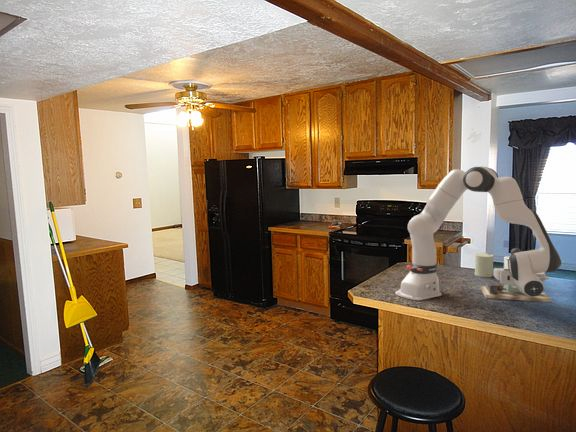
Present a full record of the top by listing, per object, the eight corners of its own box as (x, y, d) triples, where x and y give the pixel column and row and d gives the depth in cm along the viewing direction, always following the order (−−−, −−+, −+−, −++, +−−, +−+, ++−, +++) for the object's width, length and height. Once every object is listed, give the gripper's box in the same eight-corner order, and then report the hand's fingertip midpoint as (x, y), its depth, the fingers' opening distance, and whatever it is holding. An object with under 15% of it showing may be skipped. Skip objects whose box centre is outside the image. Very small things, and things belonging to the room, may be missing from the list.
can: (496, 276, 217) (497, 255, 215) (481, 277, 215) (482, 256, 214) (485, 272, 226) (486, 251, 224) (471, 273, 224) (471, 252, 223)
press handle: (518, 287, 188) (519, 246, 186) (522, 292, 180) (524, 250, 178) (504, 286, 190) (505, 246, 187) (508, 291, 182) (510, 249, 180)
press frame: (540, 292, 188) (540, 281, 188) (550, 302, 175) (550, 290, 174) (480, 288, 196) (480, 278, 195) (485, 298, 182) (486, 286, 182)
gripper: (550, 272, 168) (540, 264, 181) (497, 269, 174) (491, 262, 187) (549, 286, 169) (539, 277, 182) (497, 283, 175) (490, 275, 188)
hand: (514, 270), depth 185 cm, fingers closed on press handle, 3 cm apart
